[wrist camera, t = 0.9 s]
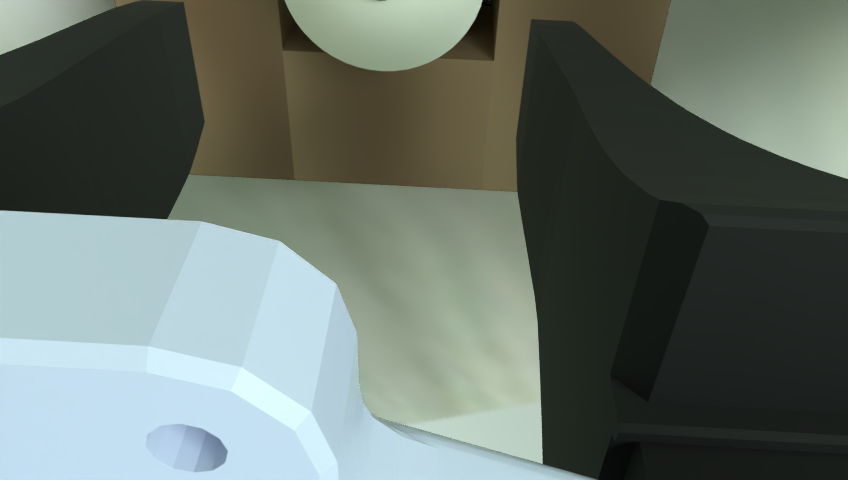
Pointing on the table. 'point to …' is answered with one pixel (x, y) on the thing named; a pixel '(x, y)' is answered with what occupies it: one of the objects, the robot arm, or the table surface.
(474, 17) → the button one
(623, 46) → the button board
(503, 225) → the table surface
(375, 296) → the table surface
